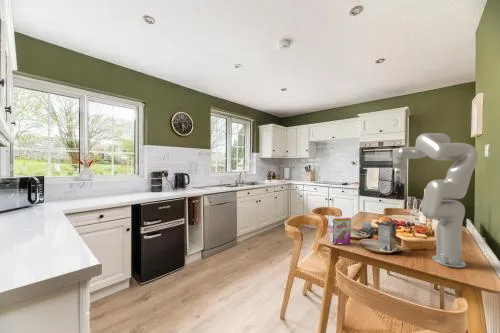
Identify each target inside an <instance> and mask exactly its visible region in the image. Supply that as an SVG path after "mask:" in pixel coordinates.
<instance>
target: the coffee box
mask: <svg viewBox="0 0 500 333" xmlns="http://www.w3.org/2000/svg"><path fill="white" fill-rule="evenodd" d="M377 224H378V227H377V232H378V233H377V234H378V236H377V237H378V239H377V240H378V243H377V244H378V245H377V246H378V248H379V249H382V250H385V251H392V250H394V249H395V248H396V249H397V223H396V222H395V221H393V222H392V221H388V220H387V221H386V220H384V221H381V222H378V223H377ZM378 248H377V249H378Z"/></svg>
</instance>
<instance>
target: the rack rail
mask: <svg viewBox="0 0 500 333" xmlns="http://www.w3.org/2000/svg"><path fill="white" fill-rule="evenodd" d="M376 228H377V227H373V226H371V231H370V232H368V231H363V230H362V228H360V229H358V230H357V232H358V233H361V232H359V231H363V232H366V233H367V234H366V235H369V234H372V235H374V234H375V233H376V232H375V230H376ZM362 234H365V233H362Z"/></svg>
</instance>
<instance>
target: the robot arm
mask: <svg viewBox="0 0 500 333" xmlns="http://www.w3.org/2000/svg"><path fill="white" fill-rule="evenodd" d="M478 152H479V151H478V150H477V148H476V147H475V146H473V145H471V144H469V143H466V142H465V143H463V142H451V139H450V136H449V135H447V134H446V133H443V132H441V133H440V132H436V133H435V132H434V133H433V132H431V133H430V132H424V133H421V134H419V135H418V136H417V137H416V140H415V146H401V147H399V148H398V147H397V148H393V149H392V169H394V174H393V176H394V183H395V185H394V192H395V193H400V194H401V192H404V190H405V189H404V187H405V186H404V184H406V171H405V170H406V169H407V159H410V160H411V159H415V160H417V159H422V158H425V157H429V158H430V159H432V160H435V161H455V162H454V163H453V164H452V165H450V167H449V168H448V169H447V172H446V176H445V178H444V179H433V180H431V181H429V182H428V183H427V185H426V187H425V190H424V193H423V199H422V202H421V212H422V215H423V216H424V217H426V218H427V219H430V220H438V221H437V224H436V245H435V246H436V251H435V252H436V254H435V255H434V254H433V256H432V258H431V259H432V260H433V262H436V263H437V264H440V265H443V266H447V267H451V268H458V269H461V268H465V267H466V266H467V263H466V262H465V261H464V260H462V254H463V253H462V251H463V250H462V249H463V248H462V246H463V245H462V241H463V221H464V218H465V214H466V208H465V206H464V204H463V203H461V202H460V201H458V199H459V200H460V199H463V198H464V197H465V196H466V194H467V192H468V188H469V184H470V182H471V178H472V174H473V171H474V170H475V168H476V166H477V164H478V160H479V153H478Z"/></svg>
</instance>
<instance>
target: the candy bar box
mask: <svg viewBox="0 0 500 333" xmlns="http://www.w3.org/2000/svg"><path fill="white" fill-rule="evenodd" d="M351 222H352V218H350V217H349V216H330V227H329V228H330V232H329V236H330V237H329V241H331V242H332V243H342V244H341V245H351V233H352V232H351V228H352V227H351V225H352V223H351ZM331 242H330V243H331ZM332 243H331V244H332Z"/></svg>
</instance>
